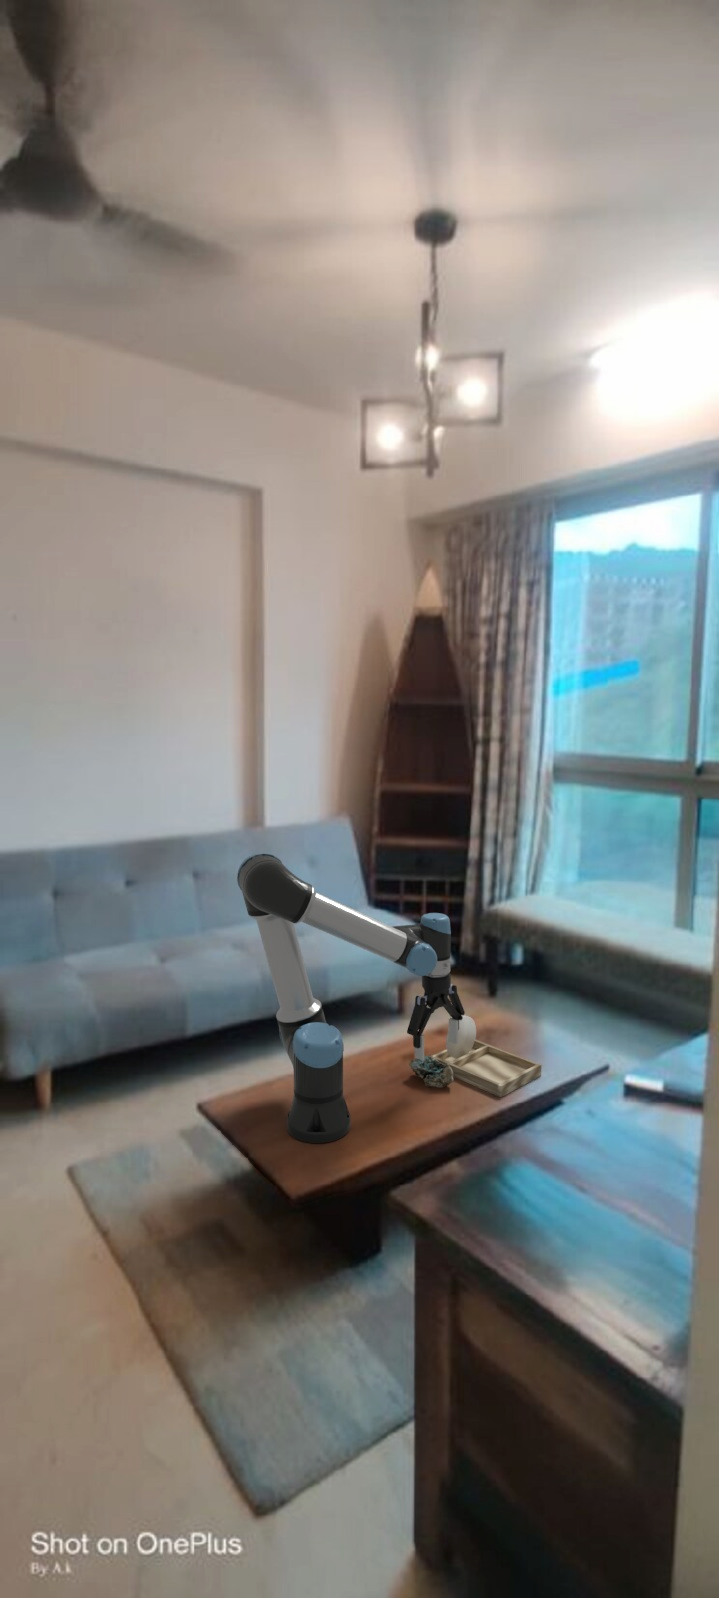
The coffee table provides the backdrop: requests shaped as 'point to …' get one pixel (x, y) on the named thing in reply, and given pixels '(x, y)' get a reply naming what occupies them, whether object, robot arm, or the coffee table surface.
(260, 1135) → the coffee table surface
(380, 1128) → the coffee table surface
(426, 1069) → the mineral specimen
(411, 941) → the robot arm
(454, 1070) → the wooden tray
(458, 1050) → the standing plate
